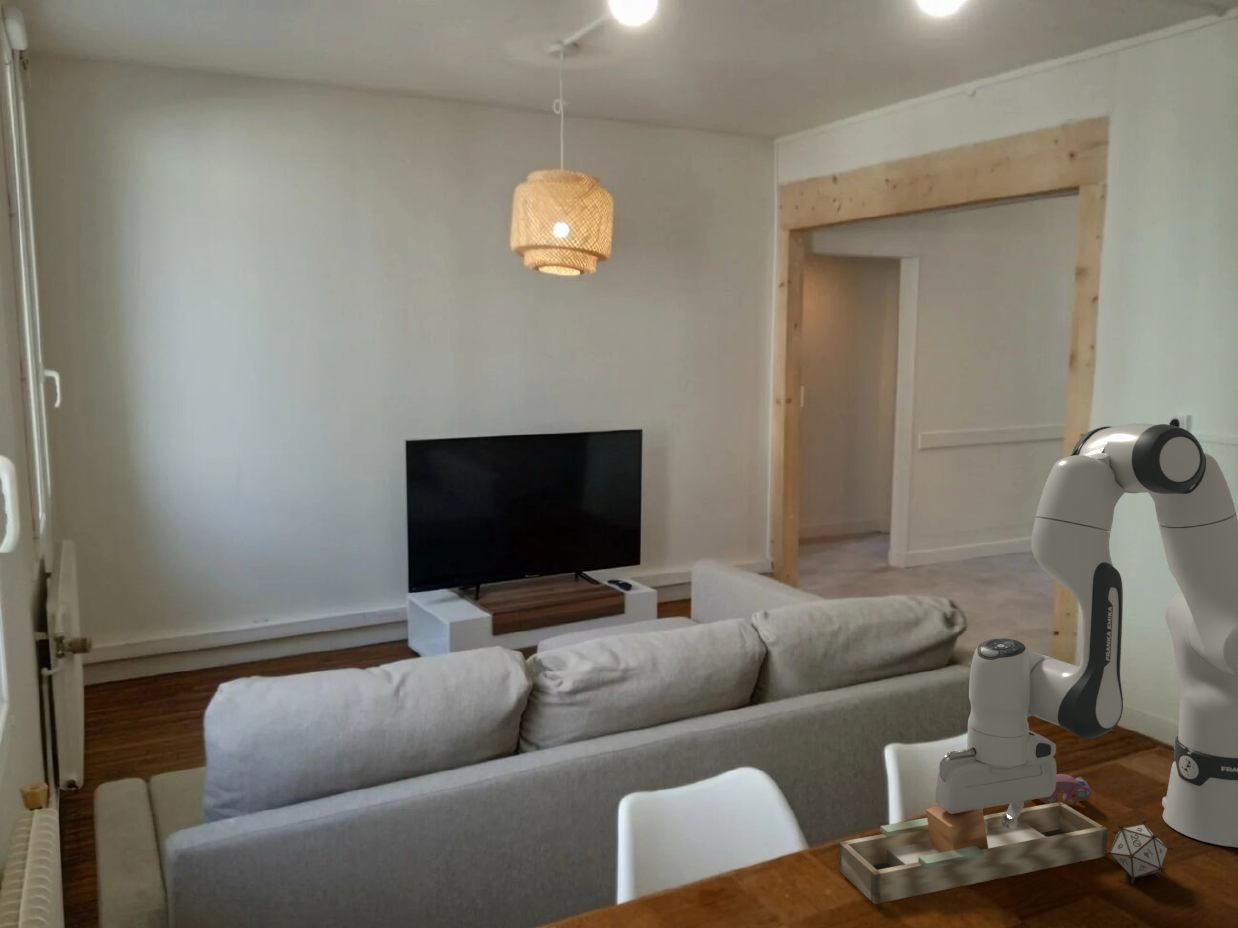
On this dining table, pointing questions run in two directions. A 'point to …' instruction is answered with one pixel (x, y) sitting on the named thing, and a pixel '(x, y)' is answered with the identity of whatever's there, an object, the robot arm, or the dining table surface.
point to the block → (956, 829)
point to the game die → (1138, 850)
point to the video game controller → (1069, 790)
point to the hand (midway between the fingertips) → (994, 829)
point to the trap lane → (968, 853)
